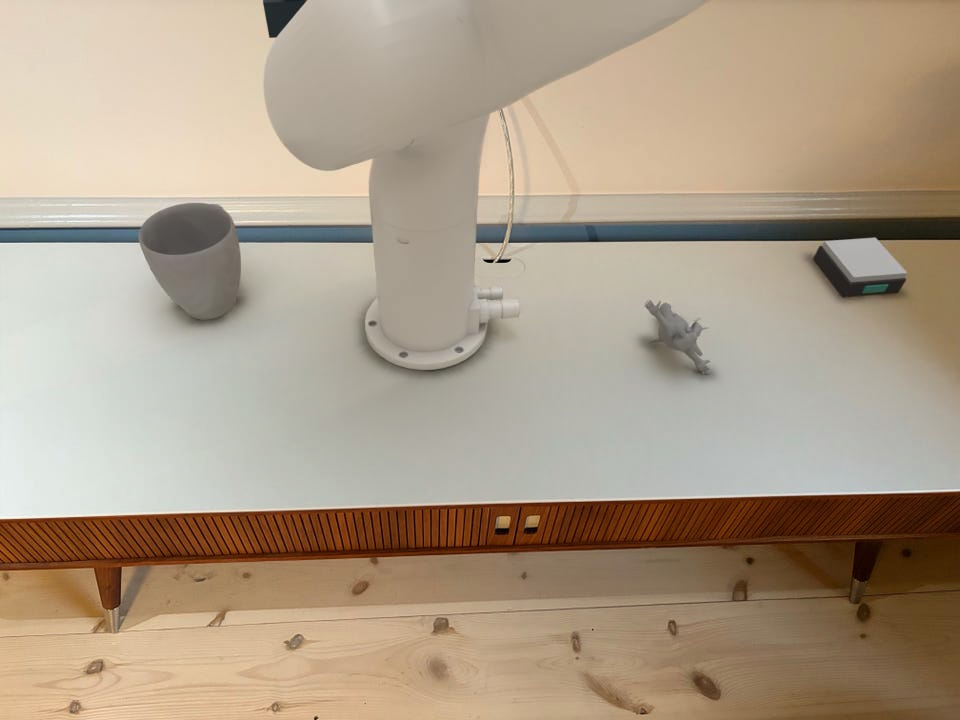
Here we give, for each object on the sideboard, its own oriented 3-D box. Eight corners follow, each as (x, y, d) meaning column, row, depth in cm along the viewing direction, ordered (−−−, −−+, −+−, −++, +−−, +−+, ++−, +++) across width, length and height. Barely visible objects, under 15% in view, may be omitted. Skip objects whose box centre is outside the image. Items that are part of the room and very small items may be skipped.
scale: (865, 255, 85) (876, 236, 82) (899, 293, 80) (911, 274, 78) (812, 259, 84) (822, 240, 82) (843, 298, 79) (853, 279, 77)
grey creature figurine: (720, 329, 75) (738, 366, 66) (674, 361, 77) (686, 401, 69) (663, 261, 72) (675, 291, 64) (617, 296, 74) (622, 329, 66)
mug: (238, 334, 71) (216, 259, 64) (152, 327, 71) (121, 252, 64) (271, 261, 79) (254, 187, 72) (194, 255, 79) (170, 181, 72)
